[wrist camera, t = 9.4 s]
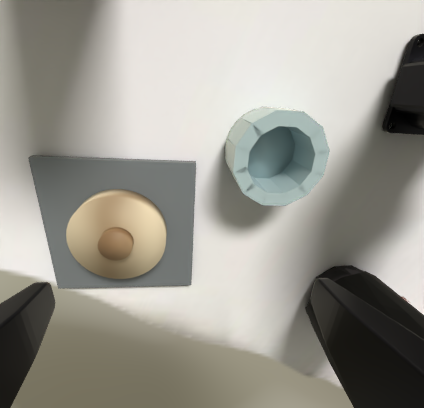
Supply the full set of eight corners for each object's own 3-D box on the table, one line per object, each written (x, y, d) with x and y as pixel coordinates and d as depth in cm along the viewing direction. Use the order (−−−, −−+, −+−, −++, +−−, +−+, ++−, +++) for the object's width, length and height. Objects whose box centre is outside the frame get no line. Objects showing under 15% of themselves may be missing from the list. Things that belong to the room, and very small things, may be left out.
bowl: (308, 109, 19) (338, 113, 15) (293, 186, 21) (315, 206, 18) (227, 104, 18) (239, 107, 15) (221, 184, 21) (229, 204, 17)
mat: (195, 161, 20) (196, 163, 19) (190, 280, 24) (191, 285, 24) (33, 155, 18) (28, 157, 18) (61, 283, 23) (58, 288, 22)
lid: (166, 190, 20) (164, 202, 18) (167, 266, 23) (165, 284, 20) (67, 187, 19) (52, 200, 17) (81, 267, 22) (70, 286, 20)
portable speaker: (361, 243, 25) (821, 633, 7) (386, 301, 28) (728, 650, 11) (283, 286, 26) (510, 716, 8) (317, 336, 30) (523, 705, 12)
